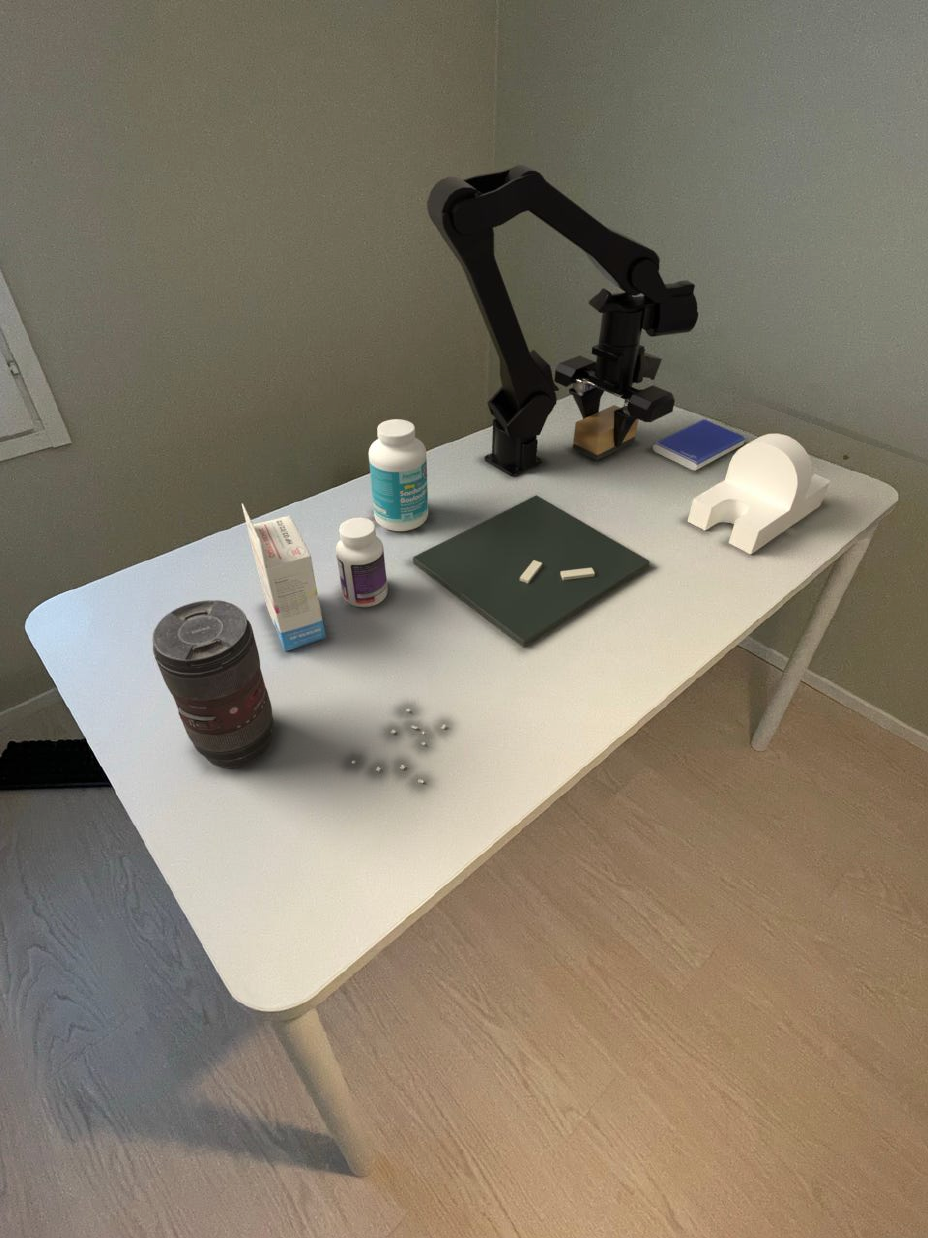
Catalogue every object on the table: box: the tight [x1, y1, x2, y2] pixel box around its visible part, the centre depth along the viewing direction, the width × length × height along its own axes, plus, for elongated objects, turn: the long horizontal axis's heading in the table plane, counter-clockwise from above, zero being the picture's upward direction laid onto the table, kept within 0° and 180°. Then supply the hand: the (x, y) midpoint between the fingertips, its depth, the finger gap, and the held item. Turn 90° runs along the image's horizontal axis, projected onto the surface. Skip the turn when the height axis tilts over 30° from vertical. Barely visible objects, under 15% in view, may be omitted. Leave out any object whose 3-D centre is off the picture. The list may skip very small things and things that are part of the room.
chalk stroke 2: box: [560, 568, 595, 580], centre depth 86 cm, size 4×1×1 cm, turn 101°
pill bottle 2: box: [368, 418, 429, 532], centre depth 92 cm, size 8×7×14 cm
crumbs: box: [351, 708, 446, 784], centre depth 68 cm, size 8×7×1 cm
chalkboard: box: [412, 494, 651, 648], centre depth 89 cm, size 20×22×1 cm
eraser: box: [572, 404, 639, 461], centre depth 110 cm, size 5×9×4 cm, turn 131°
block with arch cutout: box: [687, 433, 830, 556], centre depth 94 cm, size 18×10×11 cm, turn 131°
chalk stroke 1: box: [520, 560, 542, 583], centre depth 86 cm, size 4×1×1 cm, turn 151°
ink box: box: [241, 503, 327, 652], centre depth 76 cm, size 8×5×15 cm, turn 26°
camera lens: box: [152, 599, 274, 769], centre depth 64 cm, size 8×8×15 cm
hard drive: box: [652, 419, 746, 471], centre depth 110 cm, size 2×8×12 cm
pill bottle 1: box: [335, 517, 389, 608], centre depth 82 cm, size 5×5×10 cm
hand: (604, 439), depth 110 cm, fingers closed on eraser, 5 cm apart
